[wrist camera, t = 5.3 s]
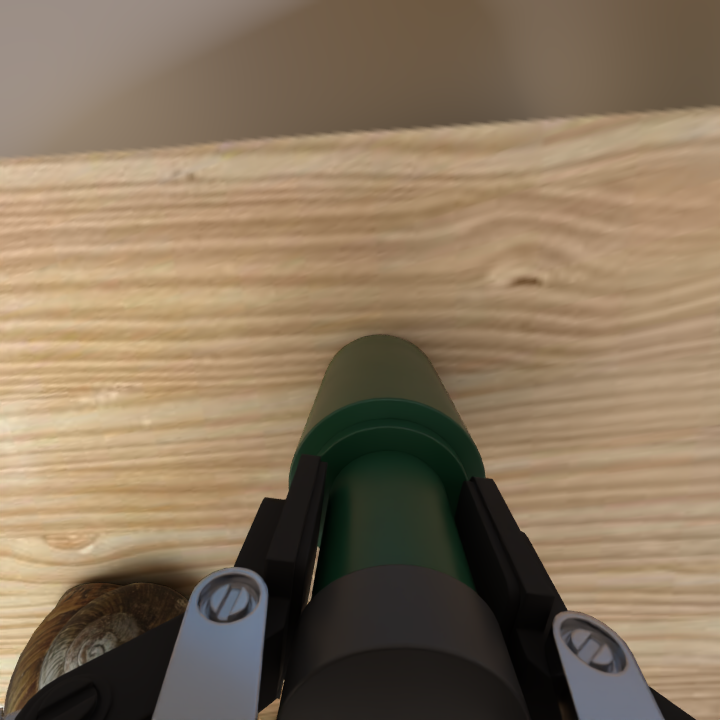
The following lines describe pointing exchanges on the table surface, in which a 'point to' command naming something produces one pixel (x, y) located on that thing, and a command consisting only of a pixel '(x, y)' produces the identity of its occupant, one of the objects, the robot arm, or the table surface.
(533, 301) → the table surface
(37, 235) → the table surface
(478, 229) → the table surface
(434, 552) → the bottle
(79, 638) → the seashell
